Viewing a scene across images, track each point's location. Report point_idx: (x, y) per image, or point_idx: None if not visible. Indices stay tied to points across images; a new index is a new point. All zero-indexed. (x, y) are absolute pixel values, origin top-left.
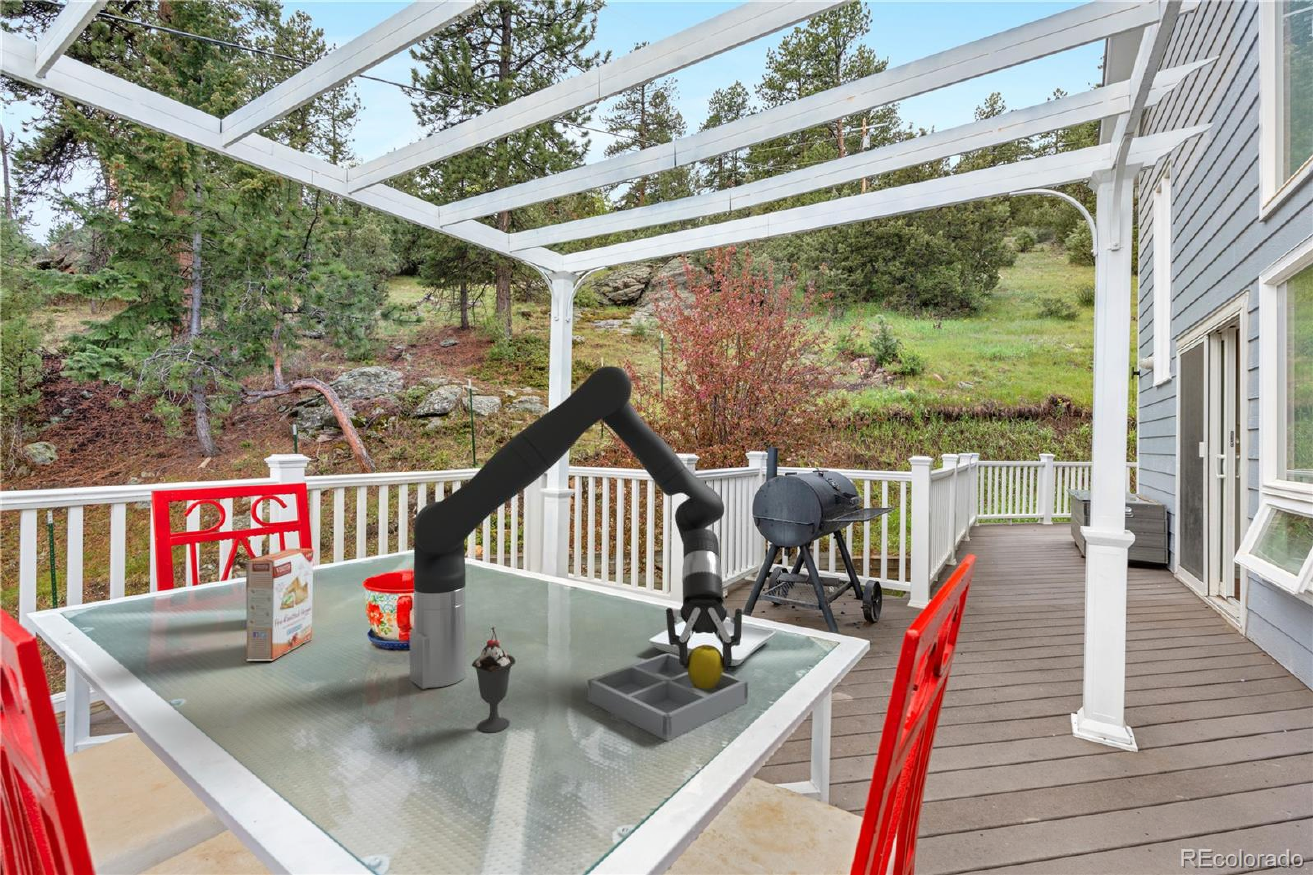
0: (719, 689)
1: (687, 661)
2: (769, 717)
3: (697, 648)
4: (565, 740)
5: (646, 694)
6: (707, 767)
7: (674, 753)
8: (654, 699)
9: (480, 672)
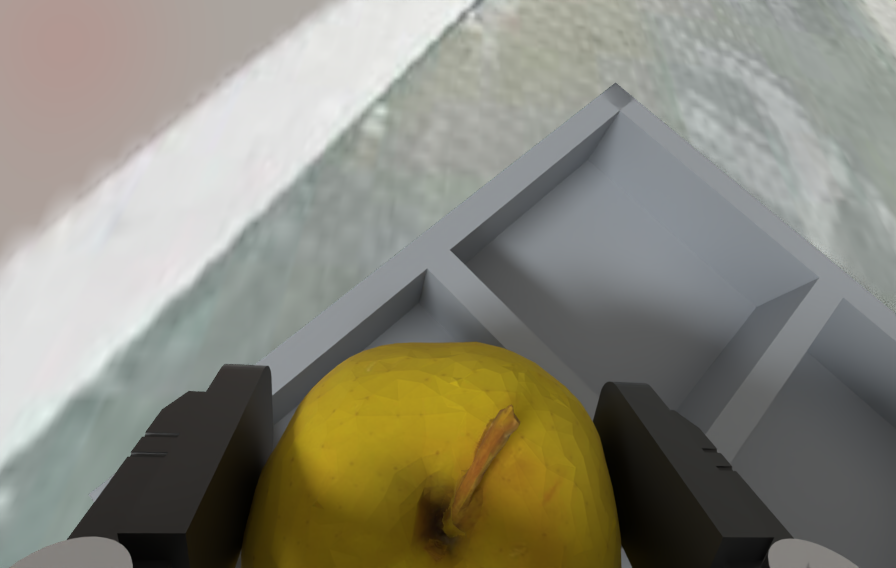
0: None
1: (616, 387)
2: (104, 305)
3: (560, 498)
4: (892, 181)
5: (751, 354)
6: (449, 14)
7: (547, 84)
8: (692, 404)
9: None
